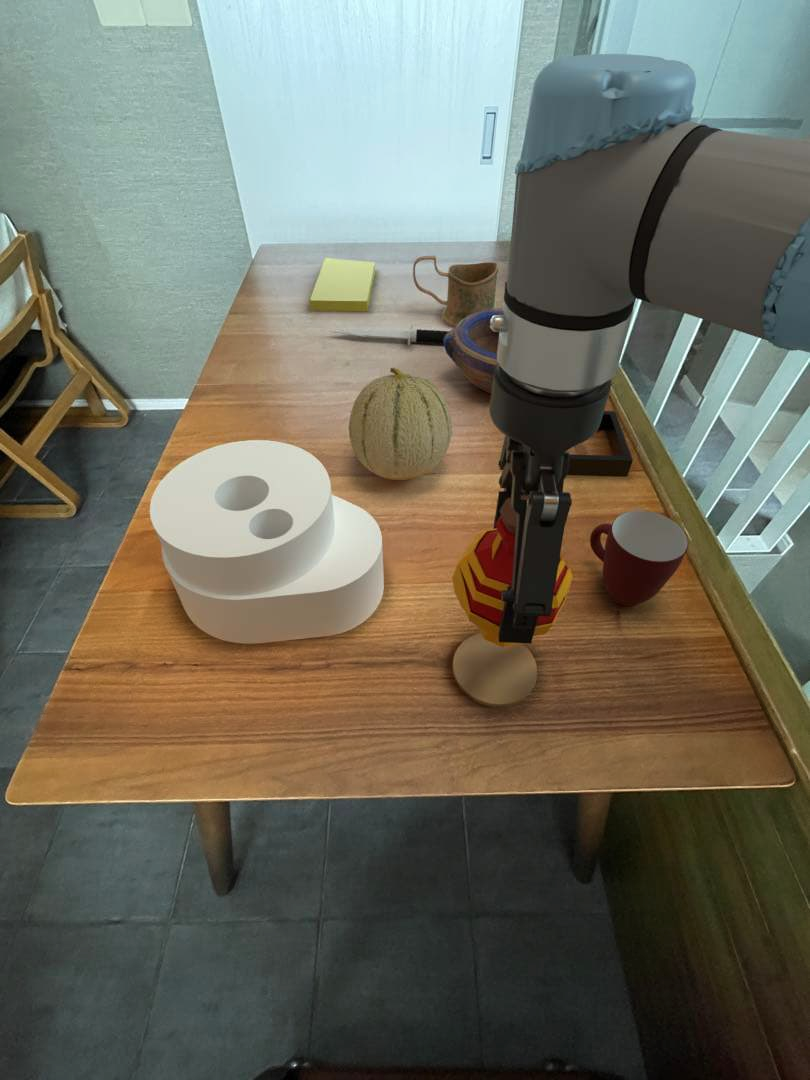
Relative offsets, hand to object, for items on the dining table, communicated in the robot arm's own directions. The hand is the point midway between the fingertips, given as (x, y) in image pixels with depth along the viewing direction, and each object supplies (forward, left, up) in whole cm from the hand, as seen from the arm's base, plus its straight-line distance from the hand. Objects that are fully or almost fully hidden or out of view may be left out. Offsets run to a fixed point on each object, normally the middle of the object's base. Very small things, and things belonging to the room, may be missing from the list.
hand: (509, 588), depth 53 cm
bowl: (+32, -50, -14) cm, 61 cm away
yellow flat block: (+82, -62, -14) cm, 104 cm away
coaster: (0, 0, -14) cm, 14 cm away
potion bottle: (0, 0, -6) cm, 6 cm away
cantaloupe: (+30, -20, -14) cm, 39 cm away
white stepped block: (+27, +6, -14) cm, 31 cm away
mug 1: (+54, -66, -14) cm, 86 cm away
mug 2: (-5, -19, -14) cm, 24 cm away
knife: (+57, -50, -14) cm, 77 cm away
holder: (+12, -41, -14) cm, 45 cm away
